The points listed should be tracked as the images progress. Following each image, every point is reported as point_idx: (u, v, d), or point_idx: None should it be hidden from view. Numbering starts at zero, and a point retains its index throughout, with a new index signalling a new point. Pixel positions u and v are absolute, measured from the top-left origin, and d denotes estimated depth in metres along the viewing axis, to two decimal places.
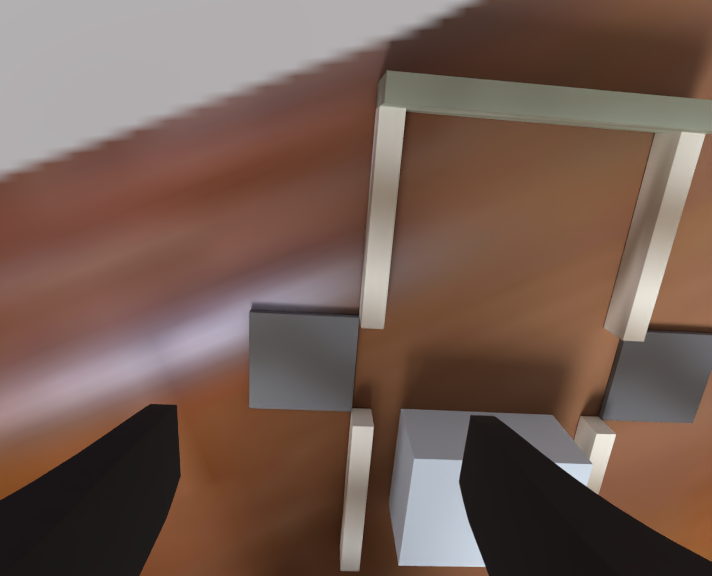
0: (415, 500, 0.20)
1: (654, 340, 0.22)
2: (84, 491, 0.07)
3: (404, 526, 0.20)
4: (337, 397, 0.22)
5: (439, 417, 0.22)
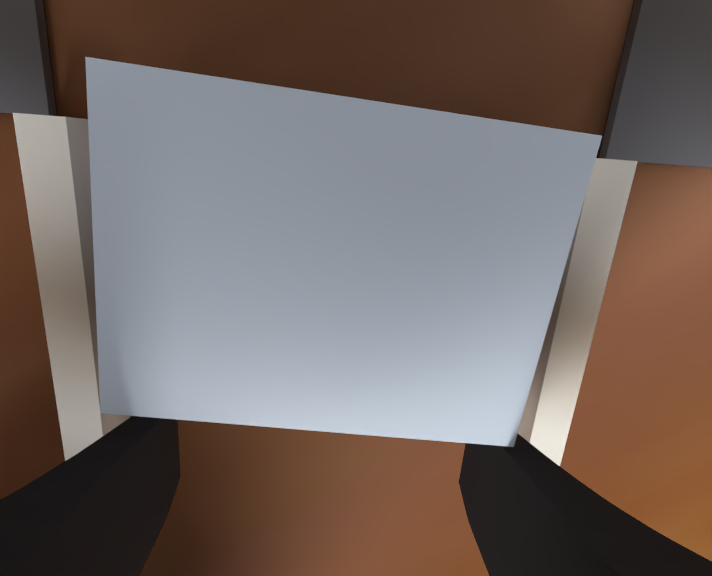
0: (113, 212, 0.07)
1: None
2: (84, 491, 0.07)
3: (97, 296, 0.08)
4: (8, 75, 0.10)
5: None
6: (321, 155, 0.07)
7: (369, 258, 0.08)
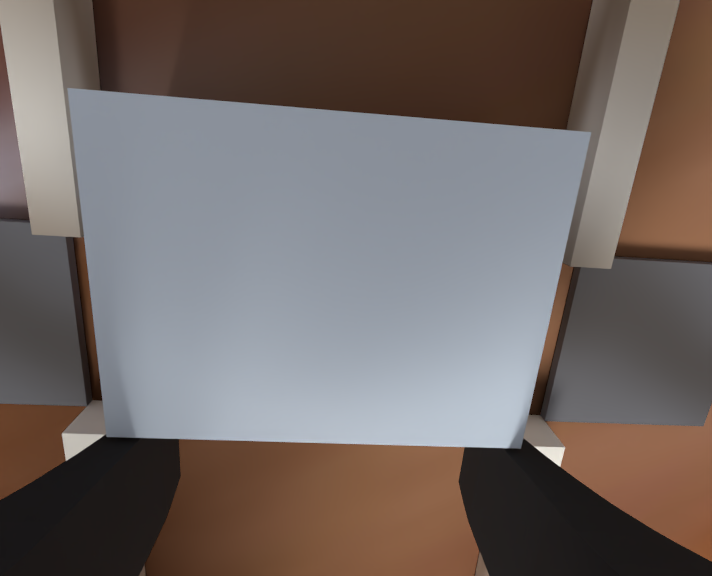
0: (105, 239, 0.07)
1: (634, 275, 0.12)
2: (84, 491, 0.07)
3: (95, 322, 0.08)
4: (54, 380, 0.12)
5: None
6: (309, 169, 0.07)
7: (363, 269, 0.08)
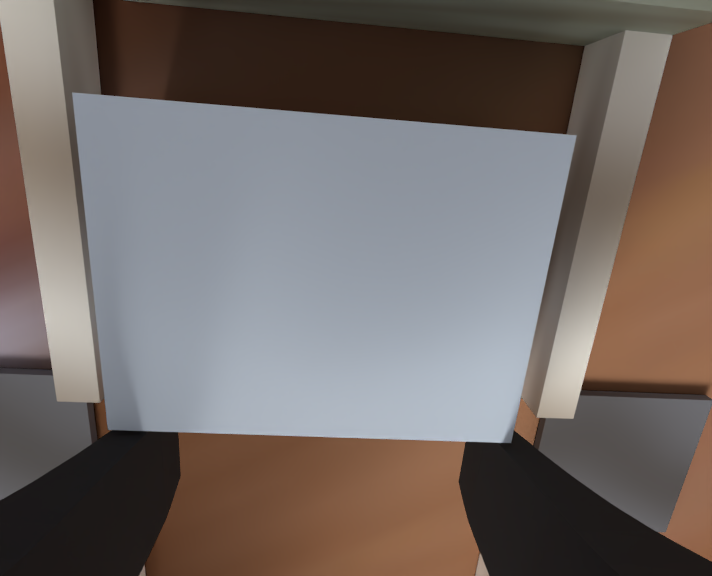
0: (107, 237, 0.07)
1: (598, 408, 0.13)
2: (84, 491, 0.07)
3: (98, 318, 0.08)
4: None
5: None
6: (304, 171, 0.07)
7: (356, 267, 0.08)
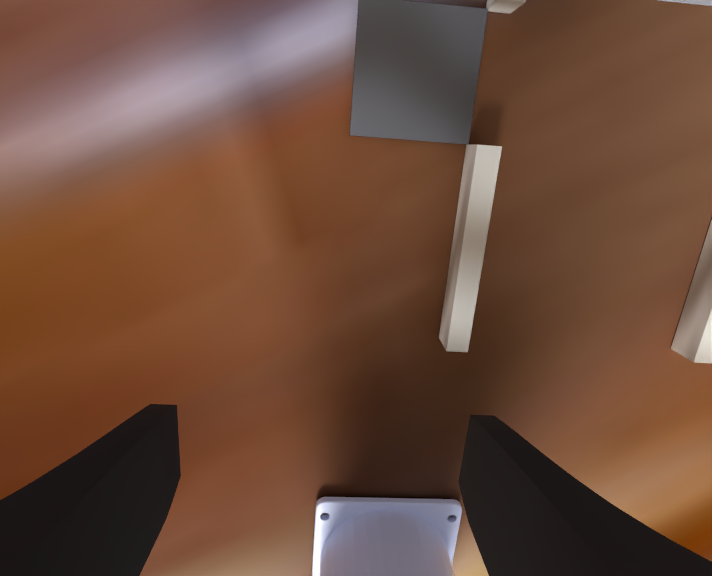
0: None
1: None
2: (84, 491, 0.07)
3: None
4: (453, 123, 0.18)
5: None
6: None
7: None
